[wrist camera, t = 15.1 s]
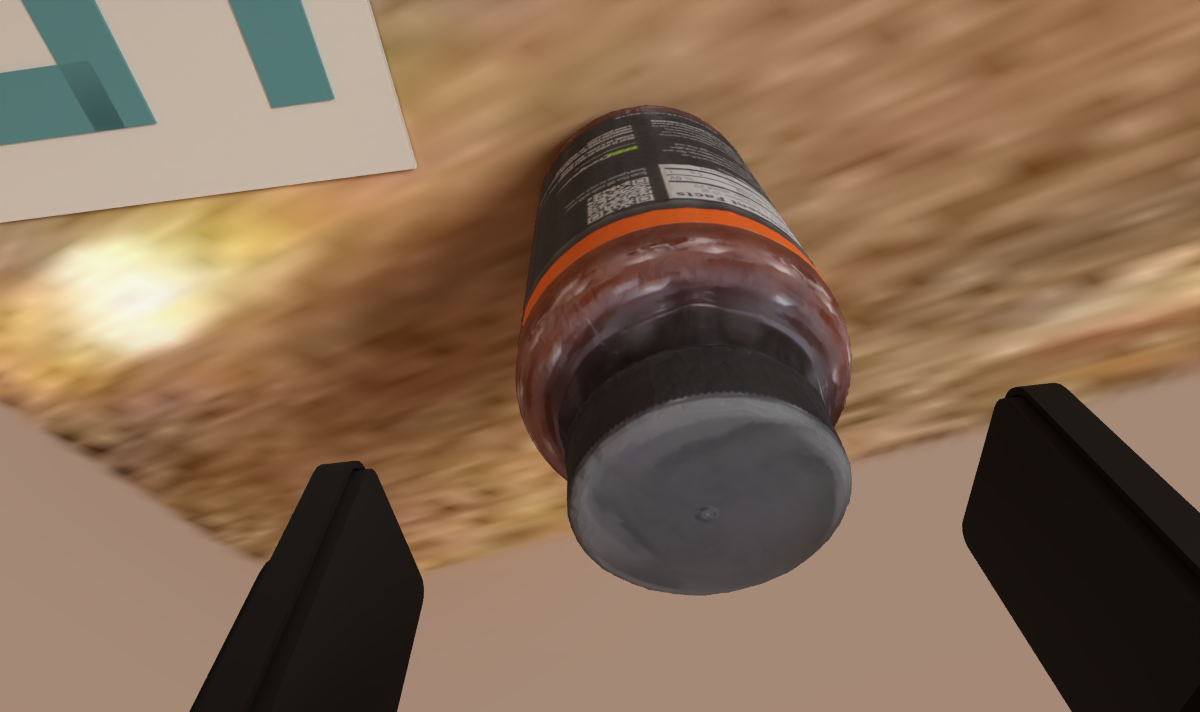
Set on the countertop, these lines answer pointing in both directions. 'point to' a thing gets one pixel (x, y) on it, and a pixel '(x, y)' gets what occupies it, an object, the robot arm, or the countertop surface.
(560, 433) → the supplement bottle
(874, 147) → the countertop surface
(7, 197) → the letter board
